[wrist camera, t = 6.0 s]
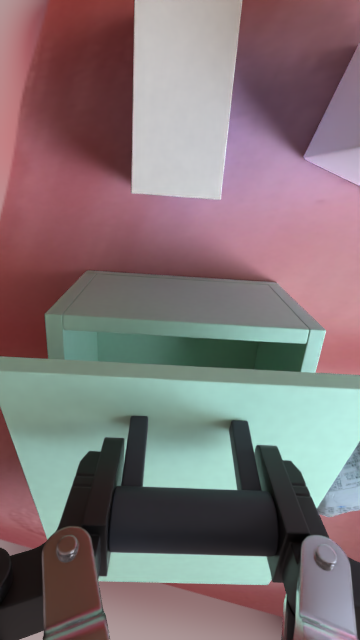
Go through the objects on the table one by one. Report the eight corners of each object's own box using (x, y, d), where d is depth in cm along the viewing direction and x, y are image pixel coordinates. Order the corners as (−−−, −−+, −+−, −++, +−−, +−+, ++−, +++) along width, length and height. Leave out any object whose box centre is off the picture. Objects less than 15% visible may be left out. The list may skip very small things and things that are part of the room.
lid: (-4, 355, 13) (-100, 504, 8) (382, 375, 13) (480, 523, 9) (64, 567, 25) (40, 673, 20) (265, 572, 25) (283, 675, 21)
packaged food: (405, 469, 34) (441, 513, 30) (290, 498, 36) (307, 544, 31) (398, 400, 31) (436, 437, 27) (272, 434, 33) (288, 475, 28)
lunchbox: (86, 269, 26) (44, 313, 17) (276, 282, 27) (326, 330, 18) (92, 467, 34) (65, 567, 25) (241, 472, 34) (265, 572, 26)
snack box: (226, 15, 21) (248, -53, 15) (208, 195, 24) (220, 200, 18) (146, 7, 20) (135, -66, 14) (141, 190, 24) (131, 193, 18)
